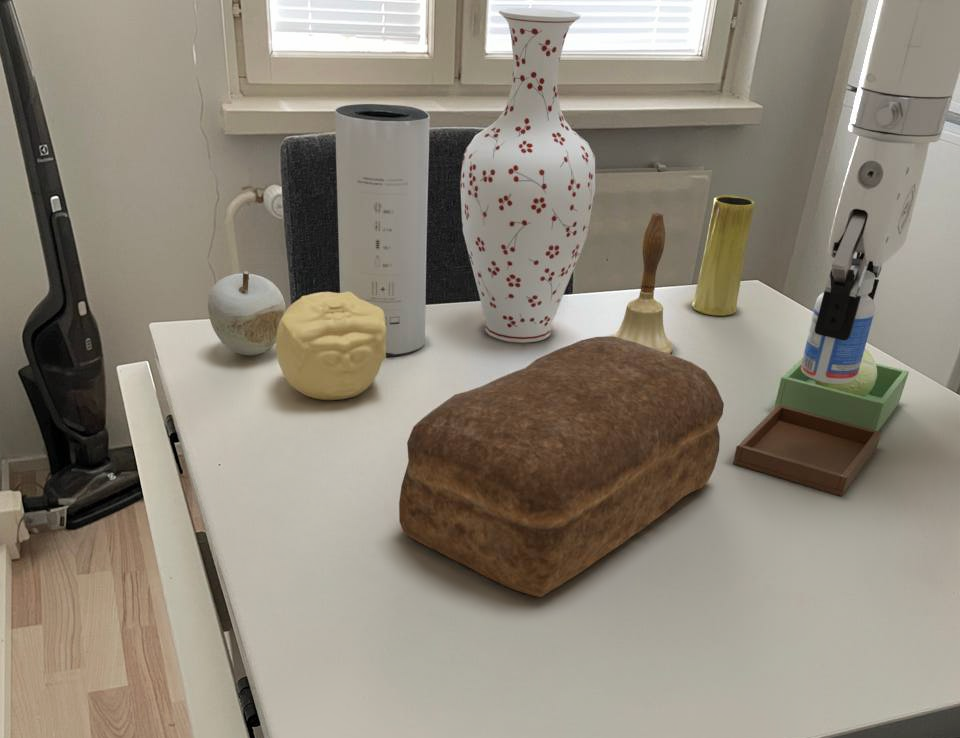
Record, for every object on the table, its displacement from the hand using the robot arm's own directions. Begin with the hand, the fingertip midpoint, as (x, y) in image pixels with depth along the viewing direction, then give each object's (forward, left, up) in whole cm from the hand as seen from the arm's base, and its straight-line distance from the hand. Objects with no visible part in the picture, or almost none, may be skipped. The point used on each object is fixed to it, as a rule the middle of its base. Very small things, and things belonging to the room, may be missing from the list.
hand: (841, 325), depth 94 cm
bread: (+15, +25, -14) cm, 32 cm away
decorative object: (+63, +15, -14) cm, 66 cm away
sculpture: (+49, +17, -14) cm, 54 cm away
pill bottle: (0, 0, -5) cm, 5 cm away
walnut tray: (0, 0, -14) cm, 14 cm away
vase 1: (+42, -12, -14) cm, 46 cm away
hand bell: (+27, -17, -14) cm, 35 cm away
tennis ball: (+1, -14, -13) cm, 20 cm away
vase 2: (+25, -37, -14) cm, 47 cm away
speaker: (+53, +2, -14) cm, 55 cm away
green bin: (+1, -14, -14) cm, 20 cm away
